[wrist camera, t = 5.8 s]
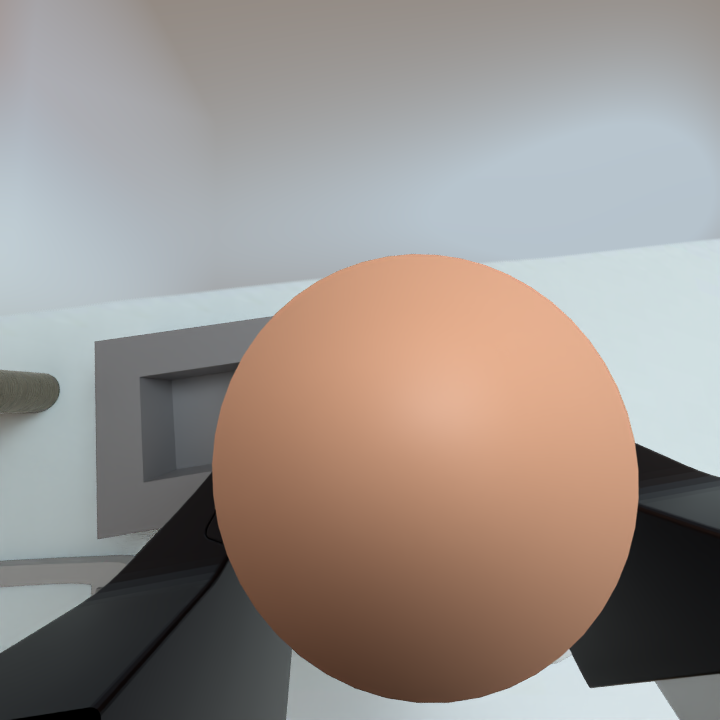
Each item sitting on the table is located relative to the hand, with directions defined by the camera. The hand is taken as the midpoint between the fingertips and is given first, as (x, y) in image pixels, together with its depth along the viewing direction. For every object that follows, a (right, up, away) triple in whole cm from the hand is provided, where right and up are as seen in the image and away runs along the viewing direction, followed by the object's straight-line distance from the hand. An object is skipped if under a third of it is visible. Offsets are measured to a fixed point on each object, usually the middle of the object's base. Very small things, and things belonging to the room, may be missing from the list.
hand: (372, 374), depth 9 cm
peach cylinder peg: (0, -2, +7) cm, 7 cm away
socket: (-11, -4, +12) cm, 16 cm away
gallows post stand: (-16, -1, +12) cm, 20 cm away
